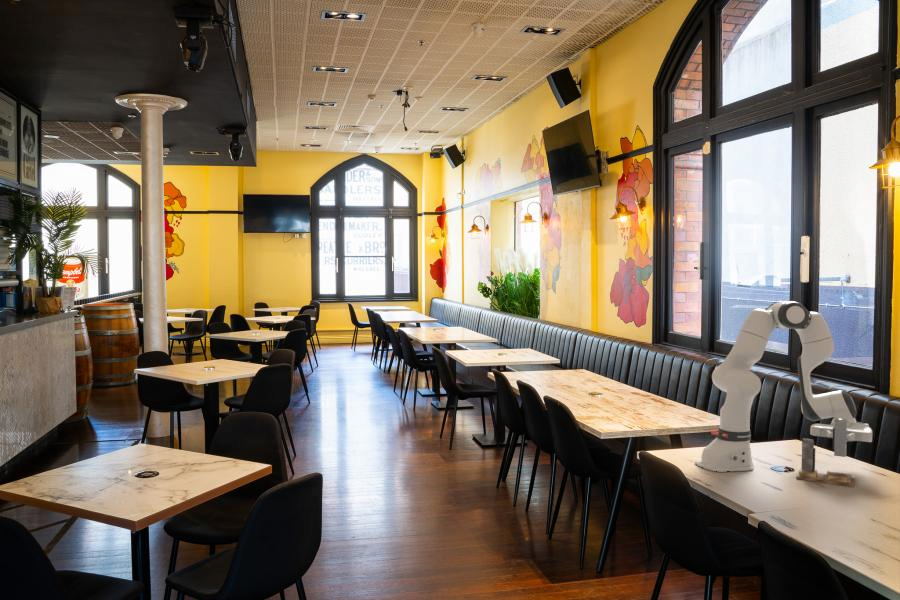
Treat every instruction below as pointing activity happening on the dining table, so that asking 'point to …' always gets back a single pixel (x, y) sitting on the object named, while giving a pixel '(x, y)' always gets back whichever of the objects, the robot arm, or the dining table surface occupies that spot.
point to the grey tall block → (839, 437)
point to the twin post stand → (811, 474)
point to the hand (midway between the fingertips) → (839, 436)
